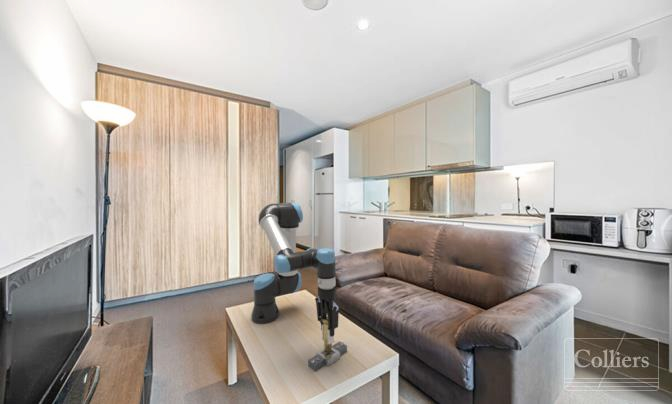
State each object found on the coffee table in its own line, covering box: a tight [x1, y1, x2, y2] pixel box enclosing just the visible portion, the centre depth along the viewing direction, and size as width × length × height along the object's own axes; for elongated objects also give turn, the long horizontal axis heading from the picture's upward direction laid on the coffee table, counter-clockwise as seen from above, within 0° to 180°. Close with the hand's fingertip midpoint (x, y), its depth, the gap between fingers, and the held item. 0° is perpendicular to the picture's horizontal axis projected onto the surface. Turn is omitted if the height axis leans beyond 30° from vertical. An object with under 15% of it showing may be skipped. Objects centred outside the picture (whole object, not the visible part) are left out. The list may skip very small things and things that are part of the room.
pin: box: [322, 316, 333, 354], centre depth 108 cm, size 4×4×14 cm
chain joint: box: [307, 341, 348, 372], centre depth 108 cm, size 18×7×3 cm, turn 133°
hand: (327, 340), depth 108 cm, fingers closed on pin, 3 cm apart
